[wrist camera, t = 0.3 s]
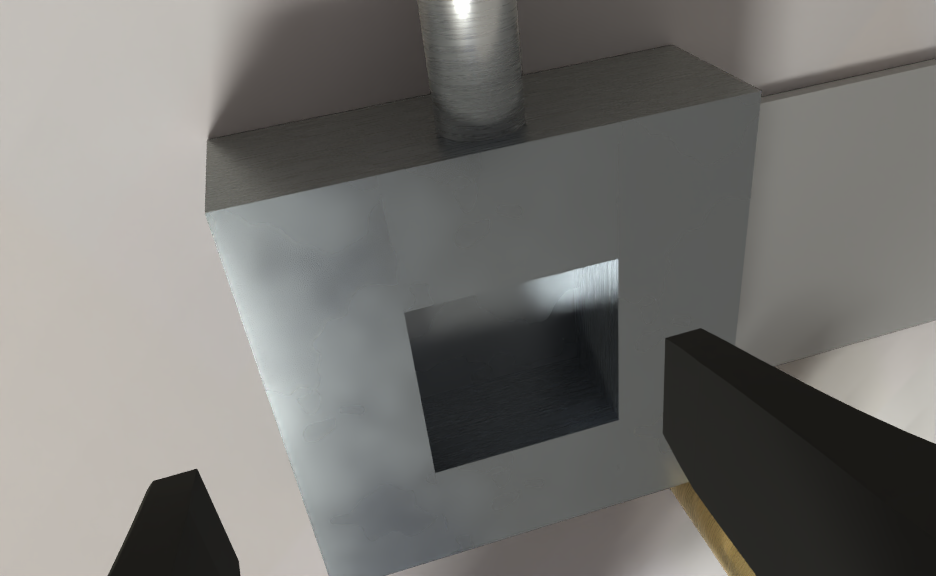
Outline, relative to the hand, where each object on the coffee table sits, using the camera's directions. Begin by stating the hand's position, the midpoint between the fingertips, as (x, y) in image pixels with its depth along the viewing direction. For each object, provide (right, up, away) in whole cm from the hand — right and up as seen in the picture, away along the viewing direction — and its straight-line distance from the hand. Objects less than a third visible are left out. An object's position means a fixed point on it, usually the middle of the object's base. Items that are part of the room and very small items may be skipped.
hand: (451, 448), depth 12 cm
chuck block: (0, +6, +8) cm, 10 cm away
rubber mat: (+12, +4, +13) cm, 19 cm away
